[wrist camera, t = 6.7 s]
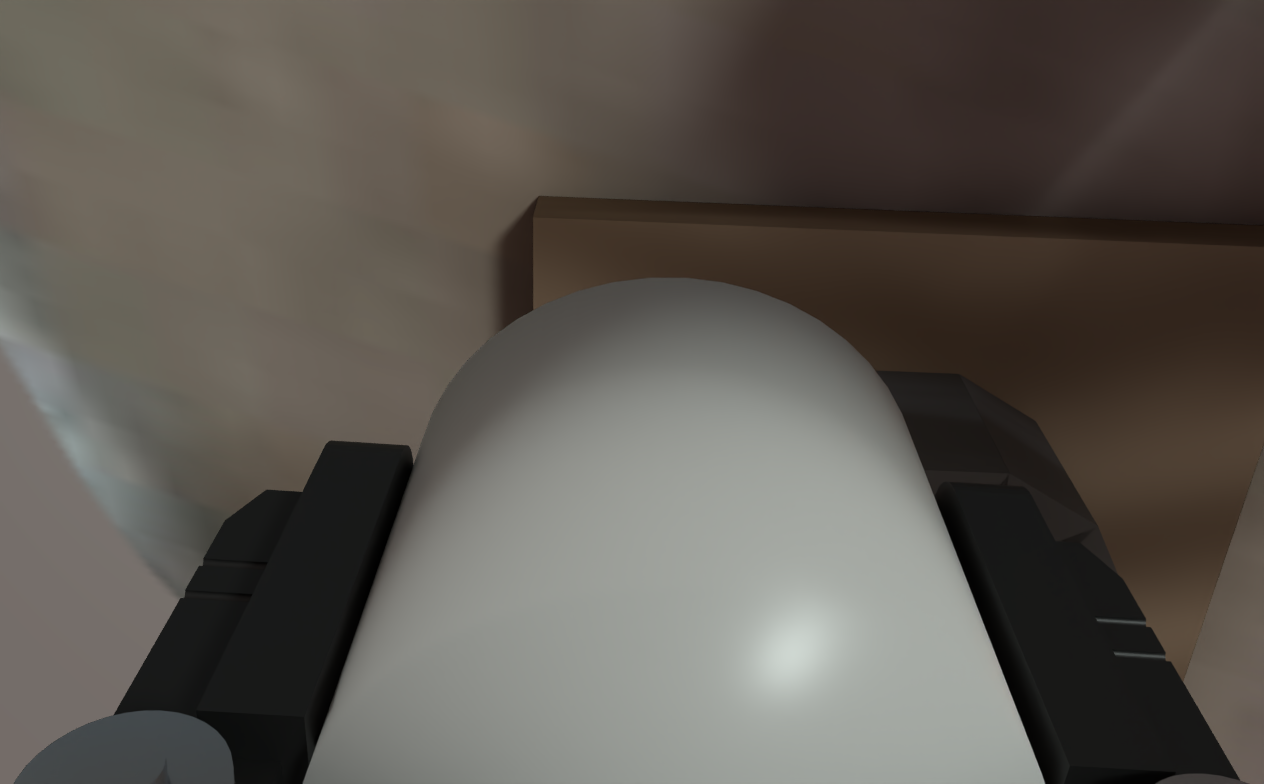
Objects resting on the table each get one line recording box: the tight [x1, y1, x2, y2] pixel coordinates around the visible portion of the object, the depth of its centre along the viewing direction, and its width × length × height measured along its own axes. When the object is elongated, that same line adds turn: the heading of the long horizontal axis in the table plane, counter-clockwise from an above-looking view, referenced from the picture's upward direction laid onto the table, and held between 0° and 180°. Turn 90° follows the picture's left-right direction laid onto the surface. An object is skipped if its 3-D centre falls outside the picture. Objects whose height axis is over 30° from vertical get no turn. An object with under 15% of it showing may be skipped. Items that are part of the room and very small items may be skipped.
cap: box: [303, 278, 1045, 784], centre depth 10 cm, size 5×5×4 cm
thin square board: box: [533, 196, 1264, 681], centre depth 29 cm, size 16×18×6 cm
